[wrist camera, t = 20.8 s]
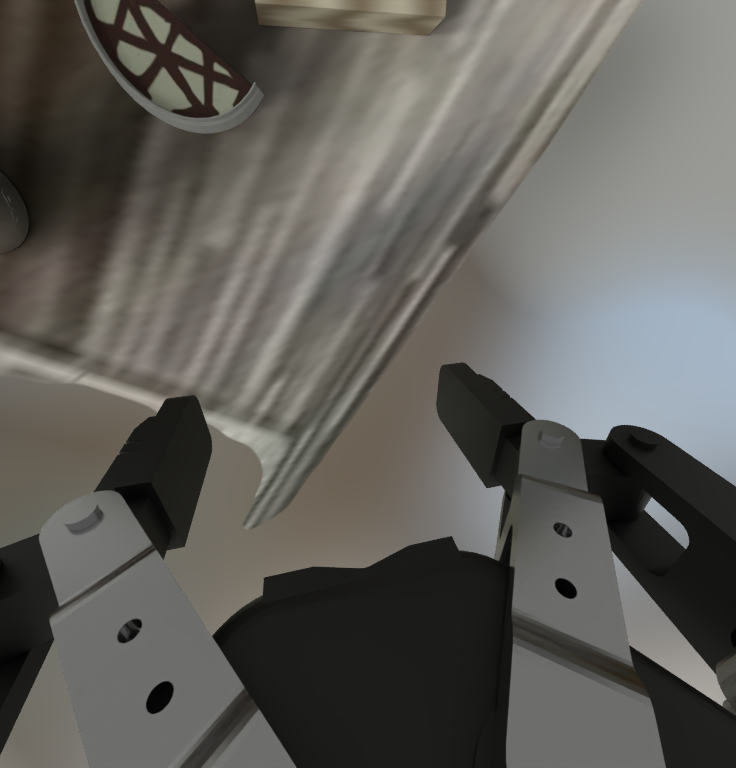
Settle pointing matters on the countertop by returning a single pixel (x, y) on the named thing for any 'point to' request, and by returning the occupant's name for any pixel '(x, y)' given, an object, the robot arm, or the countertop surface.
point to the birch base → (354, 15)
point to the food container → (167, 65)
